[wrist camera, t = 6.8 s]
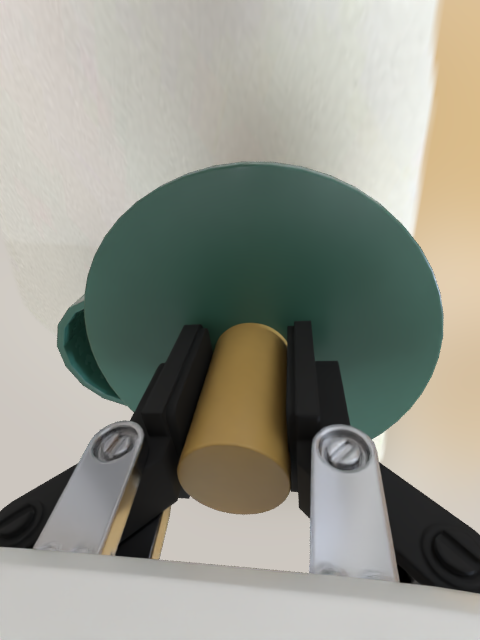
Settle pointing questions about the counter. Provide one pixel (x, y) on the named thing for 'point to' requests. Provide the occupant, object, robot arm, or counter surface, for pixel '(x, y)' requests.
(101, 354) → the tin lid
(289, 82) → the counter surface
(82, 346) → the tin
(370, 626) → the robot arm
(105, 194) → the counter surface
